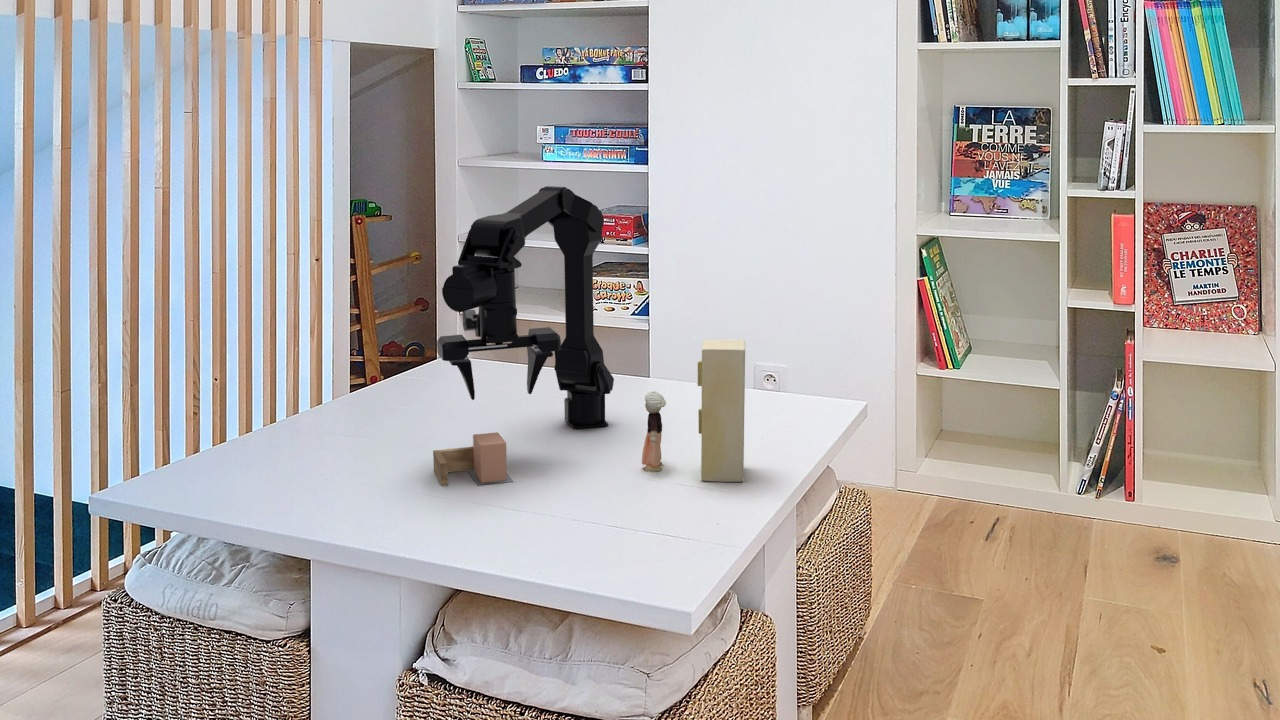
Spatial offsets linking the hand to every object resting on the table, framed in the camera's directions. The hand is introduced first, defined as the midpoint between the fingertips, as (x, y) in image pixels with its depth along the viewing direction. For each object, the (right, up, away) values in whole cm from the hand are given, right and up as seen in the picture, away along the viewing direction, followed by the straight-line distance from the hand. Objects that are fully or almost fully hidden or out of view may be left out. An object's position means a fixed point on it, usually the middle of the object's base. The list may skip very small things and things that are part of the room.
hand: (501, 396), depth 187 cm
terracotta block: (-1, -12, -3) cm, 13 cm away
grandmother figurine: (+24, -12, +1) cm, 27 cm away
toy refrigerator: (+35, -12, -2) cm, 37 cm away
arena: (-4, -12, -3) cm, 13 cm away
